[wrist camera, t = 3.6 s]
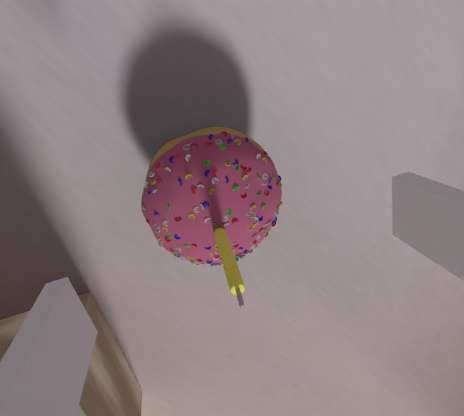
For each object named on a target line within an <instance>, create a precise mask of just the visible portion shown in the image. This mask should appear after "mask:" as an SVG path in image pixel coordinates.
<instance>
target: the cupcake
mask: <svg viewBox="0 0 464 416" xmlns="http://www.w3.org/2000/svg"><path fill="white" fill-rule="evenodd" d="M279 178H280V179H279ZM280 181H281V177H280V176H278V174H277V171H276V169H275V166H274V164H273V162H272V160H271V158H270V157H269V156H268V155H267V153H266V152H265V151H264V150H263V149H262V147H261V146H260V145H259V144H257V143H256V142H255V141H254V140H252V139H251V138H249V137H248V136H247V135H245V134H244V133H242V132H240V131H238V130H235V129H233V128H228V127H209V128H204V129H200V130H197V131H194V132H192V133H189V134H187V135H184V136H182V137H179V138H175V139H172V140H170V141H169V142H167V143H166V144H165V145H164V146H163V147H162V148H161V149H160V150H159V151H158V152H157V153H156V155H155V156H154V158H153V159H152V161H151V163H150V166H149V169H148V173H147V177H146V180H145V183H144V189H143V194H142V203H141V208H142V212H143V214H144V217H145V218H146V221H147V223H148V224H149V225H150V227H151V229H152V231H153V233H154V235H155V237H156V238H157V240H158V243H159V245H160V246H163V247H164V248H165V249H167V250H168V251H169V252H171V253H172V254H174V256H176V257H180V258H181V259H184V260H185V259H186V260H189V261H190V262H191V263H192V264H194V262H195V264H197V265H199V264H200V263H201V264H211V266H212V265H213V266H217V264H218V265H219V264H220V263H222V264H223V267H224V270H225V274H226V277H227V281H228V284H229V288H230V291H231V293H232V294H234V295H237V298H238V301H239V305H240V307H241V308H243V307H244V302H243V298H242V295H241V293H242V292H243V291H244V289H245V286H244V283H243V280H242V277H241V275H240V272H239V269H238V266H237V263H236V262H237V261H238V258H239V257H240V258H243V257H244V256H245V254H248V253H252V251H253V250H252V249H254V248H255V247H257V245H258V244H259V243H260V242H261V241H262V240H263V238H264V237H267V236H268V231H270V229H271V226H275V225H276V220H277V217H276V216H277V215H278V214H279V213H278V210H279V207H280V206H281V205H282V202H280V201H281V195H282V191H281V186H282V184H281V182H280ZM274 223H275V224H274ZM272 224H273V225H272ZM266 235H267V236H266ZM250 251H251V252H250ZM242 256H243V257H242ZM235 259H237V261H236V260H235ZM215 264H216V265H215ZM219 266H221V264H220V265H219Z"/></svg>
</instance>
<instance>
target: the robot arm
mask: <svg viewBox="0 0 464 416" xmlns="http://www.w3.org/2000/svg"><path fill="white" fill-rule="evenodd" d="M392 211H393V235H394V236H396V237H397V238H399V239H400V240H402V241H403V242H405V243H407V244H408V245H410V246H411V247H413V248H414V249H416V250H417V251H419V252H420V253H422V254H423V255H425V256H427V257H428V258H430V259H431V260H433V261H434V262H436V263H437V264H439V265H440V266H442V267H444V268H445V269H447V270H448V271H450V272H451V273H453V274H454V275H456V276H457V277H459V278H461V279H462V280H464V191H462V190H459V189H456V188H453V187H451V186H448V185H445V184H442V183H439V182H436V181H433V180H431V179H428V178H425V177H422V176H419V175H416V174H414V173H411V172H407V173H403V174H400V175H397V176H394V177H392ZM97 333H98V331H97V330H96V328H95V326H94V324H93V322H92V321H91V319H90V317H89V315H88V313H87V311H86V310H85V308H84V306H83V304H82V302H81V301H80V299H79V297H78V295H77V293H76V291H75V290H74V288H73V286H72V284H71V282H70V281H69V279H68V277H65V278H62V279H59V280H55V281H52V282H49V283H46V284H45V286H44V288H43V289H42V291H41V293H40V295H39V296H38V298H37V300H36V302H35V303H34V305H33V307H32V308H31V310H30V312H29V314H28V315H27V317H26V319H25V320H24V322H23V324H22V326H21V327H20V329H19V331H18V332H17V334H16V336H15V338H14V339H13V341H12V343H11V344H10V346H9V348H8V350H7V351H6V353H5V355H4V357H3V358H2V360H1V362H0V416H76V414H77V410H78V406H79V402H80V398H81V395H82V391H83V387H84V383H85V379H86V375H87V371H88V367H89V364H90V360H91V356H92V352H93V348H94V344H95V340H96V336H97Z"/></svg>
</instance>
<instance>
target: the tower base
mask: <svg viewBox="0 0 464 416" xmlns="http://www.w3.org/2000/svg"><path fill="white" fill-rule="evenodd" d="M78 297H79V299H80V301H81V302H82V304H83V306H84V308H85V310H86V311H87V313H88V315H89V317H90V319H91V321H92V322H93V324H94V326H95V328H96V330H97V331H98V333H97V336H96V340H95V344H94V348H93V352H92V356H91V360H90V364H89V367H88V371H87V375H86V379H85V383H84V387H83V391H82V395H81V398H80V402H79V405H80V407H81V408H82V410H83V411H84V413H85V414H86V416H141V405H142V390H141V388H140V386H139V384H138V382H137V380H136V379H135V377H134V375H133V373H132V371H131V369H130V367H129V365H128V363H127V361H126V359H125V357H124V355H123V353H122V352H121V350H120V348H119V346H118V344H117V342H116V340H115V338H114V336H113V334H112V332H111V330H110V328H109V326H108V325H107V323H106V321H105V319H104V317H103V315H102V313H101V311H100V309H99V307H98V305H97V303H96V301H95V299H94V298H93V296H92V294H91V292H87V293H84V294H81V295H78ZM29 312H30V311H27V312H24V313H21V314H18V315H15V316H12V317H9V318H5V319H2V320H0V362H1V360H2V358H3V357H4V355H5V353H6V351H7V350H8V348H9V346H10V344H11V343H12V341H13V339H14V338H15V336H16V334H17V332H18V331H19V329H20V327H21V326H22V324H23V322H24V320H25V319H26V317H27V315H28V314H29Z"/></svg>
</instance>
